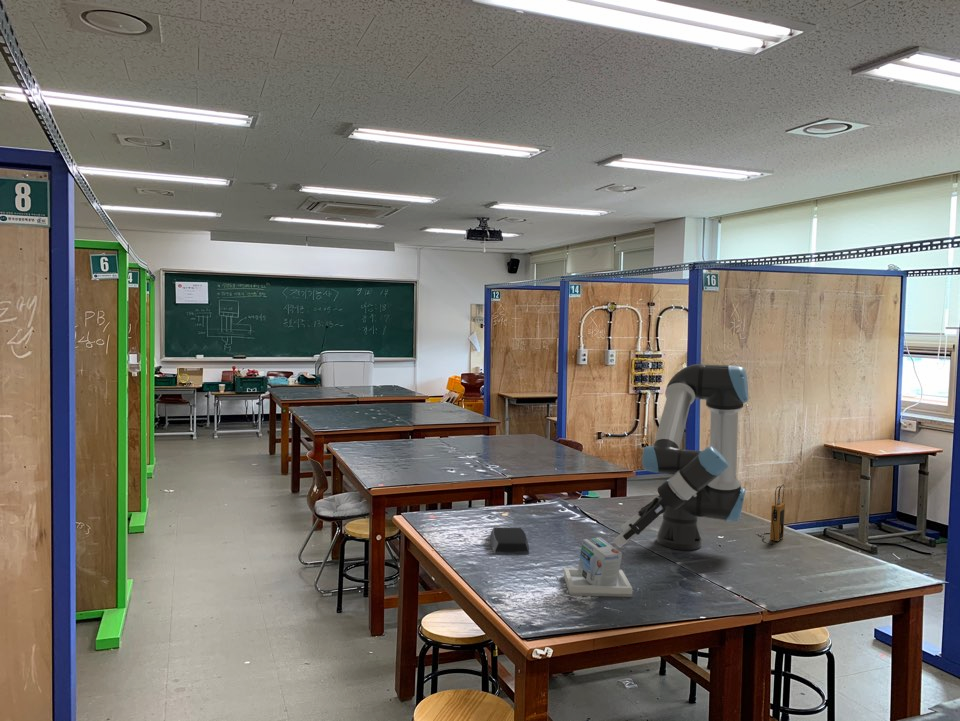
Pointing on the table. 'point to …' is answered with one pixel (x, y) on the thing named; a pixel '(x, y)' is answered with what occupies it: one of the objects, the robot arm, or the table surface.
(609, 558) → the light bulb box
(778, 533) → the multimeter
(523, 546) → the external hard drive
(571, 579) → the housing tray
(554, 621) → the table surface
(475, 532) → the table surface
